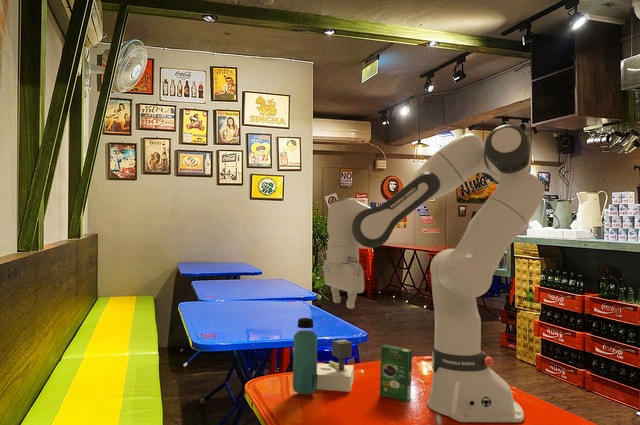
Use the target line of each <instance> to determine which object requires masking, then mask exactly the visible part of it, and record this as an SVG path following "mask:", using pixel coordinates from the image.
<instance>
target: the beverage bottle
mask: <svg viewBox="0 0 640 425" xmlns="http://www.w3.org/2000/svg"><path fill="white" fill-rule="evenodd" d="M297 328H299V329H301V330H298V331H297V332H296V333H295V334H294V335H293V357H292V361H293V362H292V389H293V391H294V392H295V393H297V394H303V395H306V394H307V395H308V394H309V395H310V394H313V393H315V392H317V390H318V389H317V367H318V365H317V363H318V335H317V334H316V333H315V332H314V331H313V330H309V329H312V328H314V320H313V318H309V317H301V318H298V320H297ZM302 329H303V330H302Z"/></svg>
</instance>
